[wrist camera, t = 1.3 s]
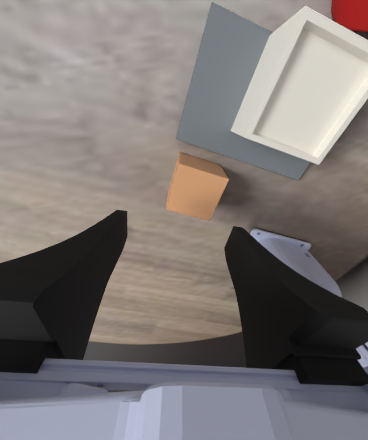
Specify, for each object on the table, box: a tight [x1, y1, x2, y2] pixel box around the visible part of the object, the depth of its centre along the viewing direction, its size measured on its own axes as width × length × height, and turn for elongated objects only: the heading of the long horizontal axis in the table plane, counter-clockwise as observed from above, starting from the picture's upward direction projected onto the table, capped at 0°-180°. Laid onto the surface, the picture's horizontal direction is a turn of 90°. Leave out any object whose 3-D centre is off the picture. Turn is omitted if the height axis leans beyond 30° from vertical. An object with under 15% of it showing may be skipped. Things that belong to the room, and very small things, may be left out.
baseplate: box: [176, 2, 311, 180], centre depth 16 cm, size 14×9×1 cm, turn 73°
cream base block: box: [231, 6, 368, 165], centre depth 13 cm, size 7×7×4 cm
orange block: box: [166, 152, 229, 221], centre depth 18 cm, size 5×5×4 cm
